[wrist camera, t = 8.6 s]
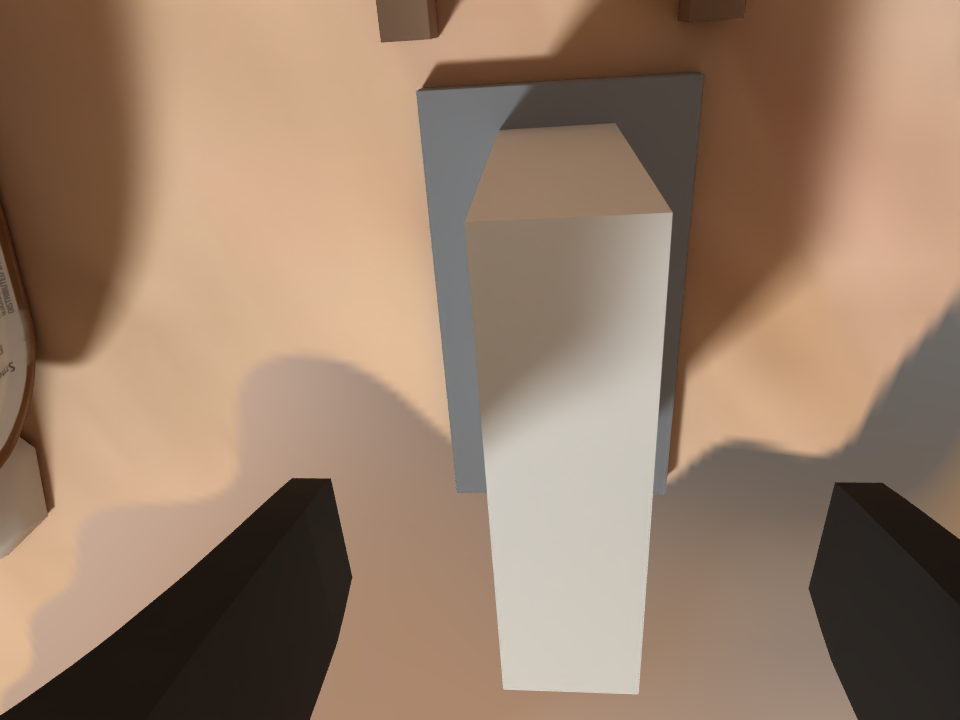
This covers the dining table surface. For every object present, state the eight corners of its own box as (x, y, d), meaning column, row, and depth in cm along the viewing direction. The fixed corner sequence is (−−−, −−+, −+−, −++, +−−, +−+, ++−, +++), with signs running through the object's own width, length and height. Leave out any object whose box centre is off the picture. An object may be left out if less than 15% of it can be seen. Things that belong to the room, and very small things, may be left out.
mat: (698, 71, 14) (704, 74, 13) (661, 480, 19) (665, 493, 18) (421, 88, 14) (416, 91, 14) (459, 479, 20) (456, 492, 19)
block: (615, 123, 14) (672, 212, 8) (606, 461, 18) (638, 694, 12) (498, 130, 14) (464, 221, 8) (516, 462, 18) (503, 689, 12)
